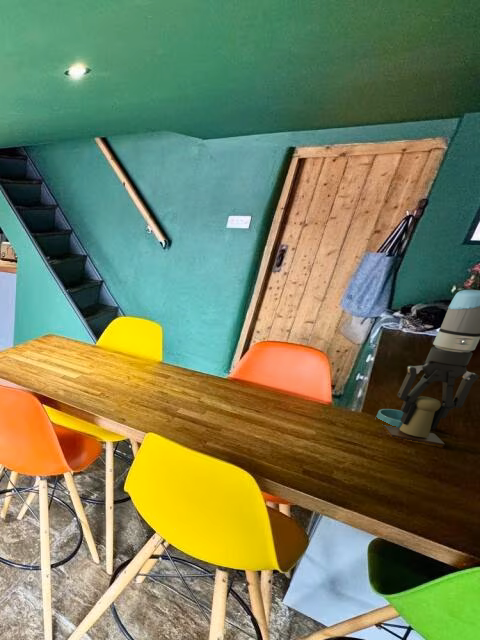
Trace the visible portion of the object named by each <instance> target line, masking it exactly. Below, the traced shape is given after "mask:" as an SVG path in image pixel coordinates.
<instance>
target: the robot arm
mask: <svg viewBox="0 0 480 640" xmlns="http://www.w3.org/2000/svg"><path fill="white" fill-rule="evenodd" d="M479 342H480V290H479V289H463V290H460V291H458V292H456V294H455V295H454V297H453V298H452V300H451V302H450V304H449V305H448V307H447V311H446V313H445V316H444V318H443V321H442V323H441V325H440V328H439V330H438V332H437V334H436V336H435V338H434V341H433V342H432V345H434V346H431V348H430V350H429V352H428V355H427V356H426V359H425V361H424V362H423V363H422V364H421V365H411V364H410V365H408V366H406V375H405V377H404V379H403V381H402V383H401V386H400V387H399V391H398V392H397V394H396V396H397V397H398V398H399V400H401V401H403V403H402V405H401V407H400V411H402V412H404V413H403V415H402V418H401V420H400V421H401V422H402V423H403V424H408V421H409V419H410V417H411V415H412V413H413V410H414V408H415V406H416V404H415V403H414V401H415V400H416V398H418V397H420V395H421V394H422V393H423V392H424V391H425V390H426V389H427V388H428V387H429V386H430V385H431V384H433V383H434V382H441V383H442V394H441V395H442V396H441V407H440V408H439V409H438V410H437V411H435V414H434V418H433V422H432V426H431V430H436V429H437V427H438V425H439V423H440V421H441V419H446V418H447V417H448V414H449V412H450V411H451V410H453V409H454V408H455V409H456V408H457V409H461V408H462V407H464V404H465V402H466V399H467V397H468V395H469V393H470V391H471V389H472V386H473V384H474V383H475V382H476V381H477V380H478V379H480V376H479V375H478V374H477V373H475V372H472V371H468V369H467V366H468V365H469V363H470V360H471V358H472V356H473V355H474V353H473V352H472V351H475V350H476V348H477V346H478V344H479ZM421 371H422V373H423V375H422V376H421V377H420V380H419V381H418V382H417V383H416V384H415V385H414V386H413V384H414V382H415V381H416V378H417V375H418V374H419V373H420V372H421ZM459 377H461V378H462V379H461V381H460V384H459V385H458V388H457V390H456V392H455V395H454V386H455V380H456V379H458V378H459ZM412 387H413V388H412ZM411 388H412V389H411Z"/></svg>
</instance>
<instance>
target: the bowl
mask: <svg viewBox="0 0 480 640" xmlns="http://www.w3.org/2000/svg"><path fill="white" fill-rule="evenodd" d="M403 413H404V412H402V411H401V409H400V410H399V409H392V408H382V409H379V410H378V411H377V414H376V416H375V418H376V417H377V418H378V419H380V420H382V421H384V422H386V423H388V424H390V425H392V426H396V427H398V428H400V427H401V426H402V424H403V423H402V422H401V421H400V420H401V418H402V415H403Z"/></svg>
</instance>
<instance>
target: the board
mask: <svg viewBox="0 0 480 640" xmlns="http://www.w3.org/2000/svg"><path fill="white" fill-rule="evenodd" d="M383 427H385V428H386V429H387V430H388V432H389V433H390V435H391V436H392V437H398V438H401V439H407V440H412V441H418V442H425V443H429V444H436V445H437V444H438V445H443V446H444V447H445V443H444V441H443V440H442V439H441V438H439V436H438V435H436V433H433V432H430V433H429V436H428V437H417V436H413V435H409V434H407V433H404V432H402V431H401V430H400V428H398V427H392V426H386V425H383Z"/></svg>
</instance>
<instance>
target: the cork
mask: <svg viewBox="0 0 480 640" xmlns="http://www.w3.org/2000/svg"><path fill="white" fill-rule="evenodd" d="M414 403H415V404H416V406H415V408H414V410H413V413H412V415H411V417H410V419H409V421H408V424H402V426H401V427H400V430H401V431H402V432H404V433H407V434H409V435H413V436H417V437H428V436H429V433H431V430H432V428H431V426H432V422H433V418H434V414H435V411H437V410H438V409H439V408H440V407H441V406H442V402H441V401H440V400H438V399H437V398H433V397H430V396H418V397H417V398H416V400H415V401H414Z"/></svg>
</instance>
